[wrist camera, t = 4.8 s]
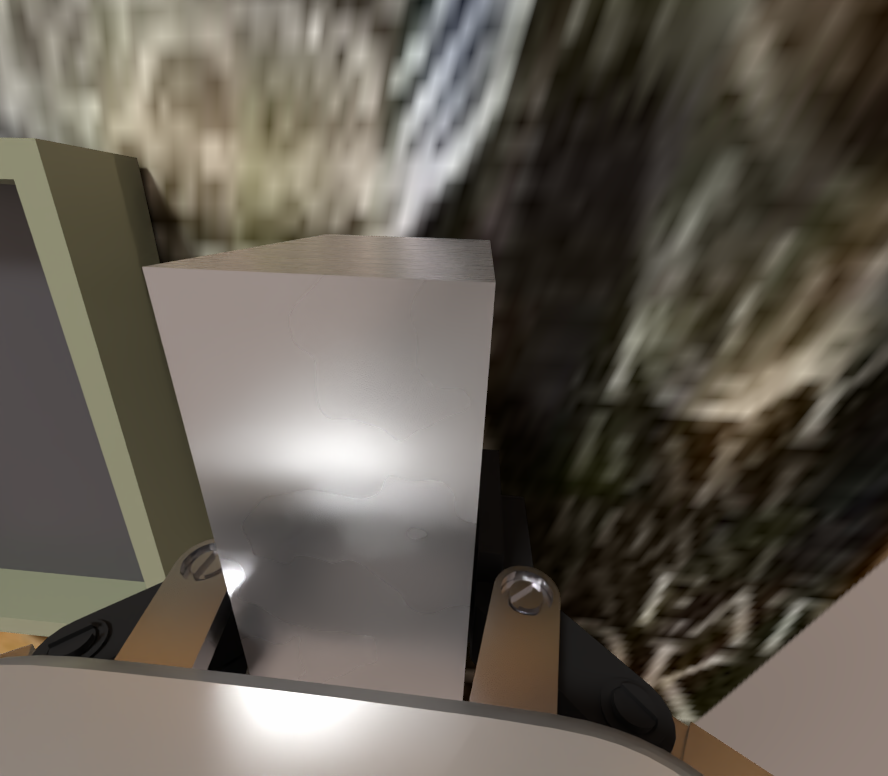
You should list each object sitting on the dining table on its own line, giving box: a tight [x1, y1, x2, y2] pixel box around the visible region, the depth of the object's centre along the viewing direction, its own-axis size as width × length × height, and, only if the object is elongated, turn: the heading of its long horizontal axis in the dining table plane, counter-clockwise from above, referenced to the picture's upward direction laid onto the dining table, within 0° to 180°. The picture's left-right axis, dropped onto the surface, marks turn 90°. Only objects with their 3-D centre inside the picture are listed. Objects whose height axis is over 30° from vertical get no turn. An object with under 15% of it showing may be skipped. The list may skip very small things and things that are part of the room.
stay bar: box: [142, 234, 495, 701], centre depth 10 cm, size 4×14×6 cm, turn 178°
